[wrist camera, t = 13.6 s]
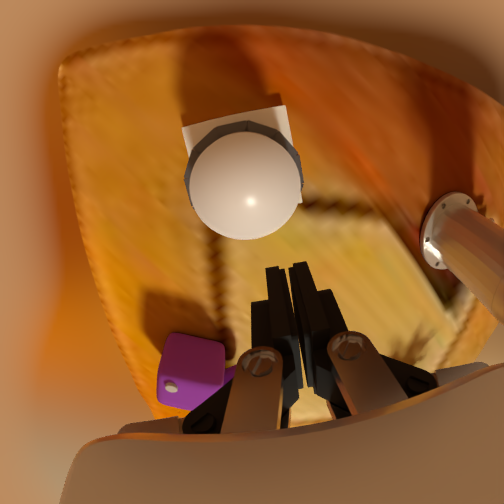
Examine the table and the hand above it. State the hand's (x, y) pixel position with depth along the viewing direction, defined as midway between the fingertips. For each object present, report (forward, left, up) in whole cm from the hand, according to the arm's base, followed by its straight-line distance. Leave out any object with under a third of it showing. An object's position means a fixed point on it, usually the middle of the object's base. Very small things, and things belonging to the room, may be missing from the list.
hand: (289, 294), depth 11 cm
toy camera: (+14, +26, -22) cm, 37 cm away
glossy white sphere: (+1, -2, -16) cm, 16 cm away
